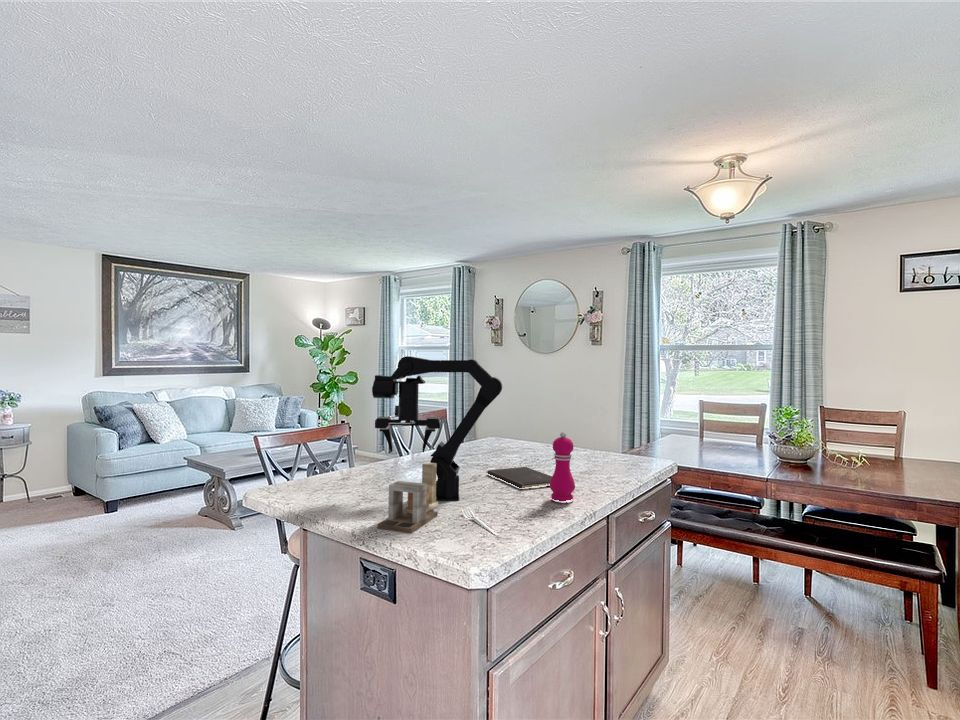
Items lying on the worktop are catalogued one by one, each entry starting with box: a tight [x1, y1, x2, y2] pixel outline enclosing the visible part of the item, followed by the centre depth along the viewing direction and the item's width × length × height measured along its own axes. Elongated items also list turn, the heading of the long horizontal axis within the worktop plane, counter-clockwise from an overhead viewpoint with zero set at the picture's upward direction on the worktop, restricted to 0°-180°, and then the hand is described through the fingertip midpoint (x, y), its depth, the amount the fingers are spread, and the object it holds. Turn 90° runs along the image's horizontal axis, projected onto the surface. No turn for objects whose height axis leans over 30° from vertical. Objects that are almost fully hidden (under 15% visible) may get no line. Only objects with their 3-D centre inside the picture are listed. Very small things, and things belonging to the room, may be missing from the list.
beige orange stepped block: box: [406, 462, 439, 514], centre depth 134 cm, size 10×4×11 cm, turn 160°
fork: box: [461, 506, 499, 536], centre depth 126 cm, size 3×20×2 cm, turn 25°
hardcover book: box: [486, 466, 553, 488], centre depth 174 cm, size 16×23×2 cm
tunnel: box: [376, 480, 439, 534], centre depth 127 cm, size 14×9×9 cm, turn 160°
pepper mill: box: [549, 431, 576, 501], centre depth 149 cm, size 7×7×20 cm
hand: (407, 452), depth 151 cm, fingers open, 9 cm apart
